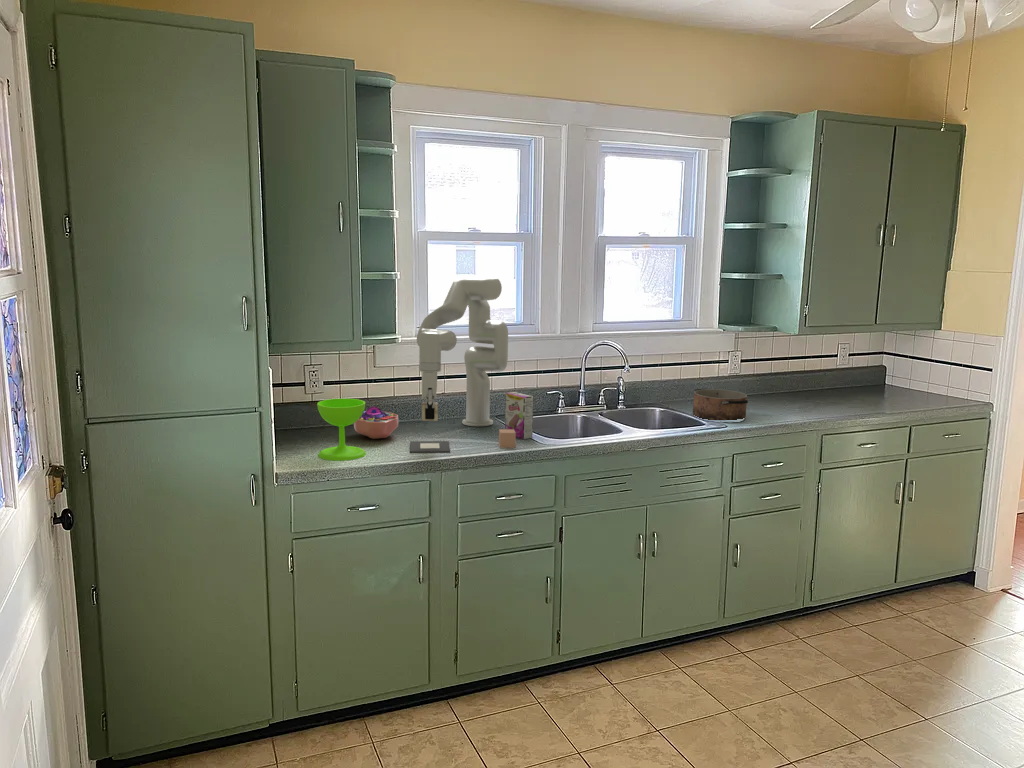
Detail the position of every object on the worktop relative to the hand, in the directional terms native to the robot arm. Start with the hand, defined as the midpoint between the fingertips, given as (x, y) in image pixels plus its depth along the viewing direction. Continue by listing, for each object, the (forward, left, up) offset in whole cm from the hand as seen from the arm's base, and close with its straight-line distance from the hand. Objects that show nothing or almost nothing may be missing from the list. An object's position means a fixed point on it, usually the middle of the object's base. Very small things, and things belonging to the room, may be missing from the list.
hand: (429, 416), depth 275 cm
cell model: (-16, -20, -12) cm, 28 cm away
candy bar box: (-16, +34, -12) cm, 40 cm away
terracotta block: (-2, +28, -11) cm, 30 cm away
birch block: (0, 0, -1) cm, 1 cm away
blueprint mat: (0, 0, -11) cm, 11 cm away
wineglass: (+8, -30, -12) cm, 33 cm away
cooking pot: (-48, +126, -12) cm, 136 cm away
